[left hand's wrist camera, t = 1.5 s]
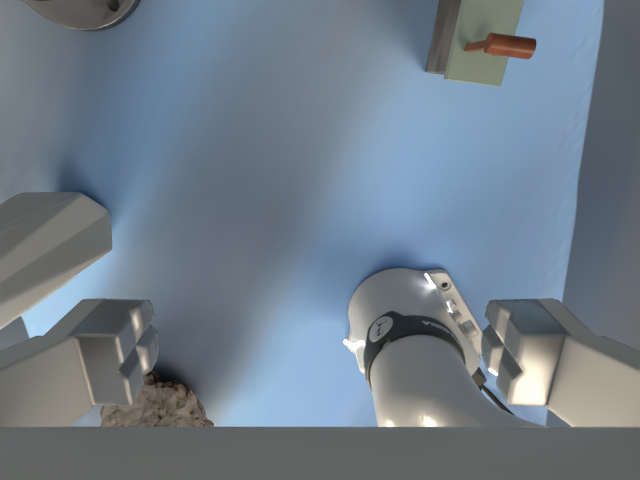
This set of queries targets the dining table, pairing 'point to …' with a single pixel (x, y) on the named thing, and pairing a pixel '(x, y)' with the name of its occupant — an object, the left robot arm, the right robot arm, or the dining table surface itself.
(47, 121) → the dining table surface
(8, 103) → the dining table surface
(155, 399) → the rock
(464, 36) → the lid
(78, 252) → the vase
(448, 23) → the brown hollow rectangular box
